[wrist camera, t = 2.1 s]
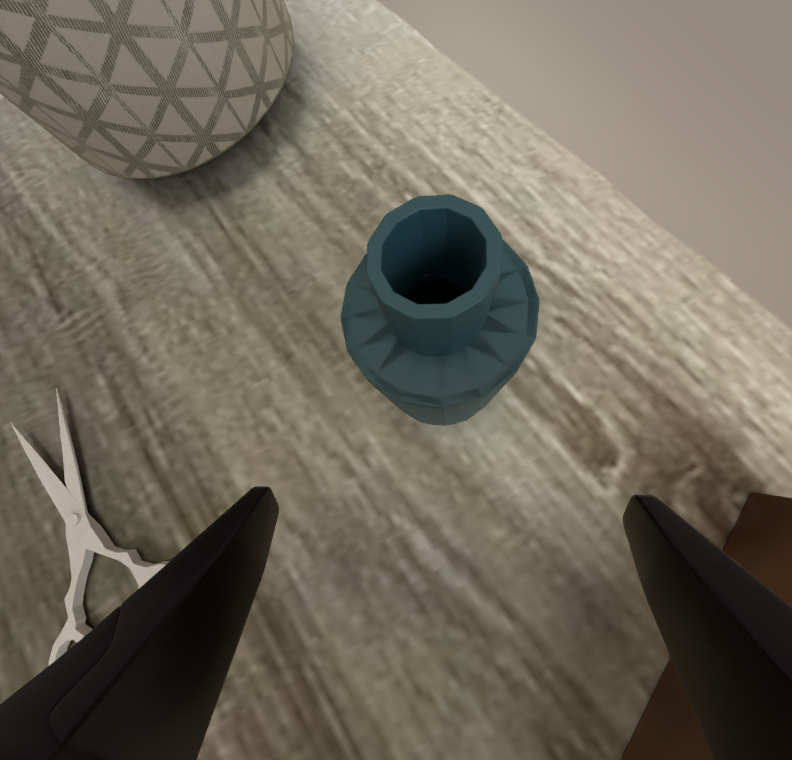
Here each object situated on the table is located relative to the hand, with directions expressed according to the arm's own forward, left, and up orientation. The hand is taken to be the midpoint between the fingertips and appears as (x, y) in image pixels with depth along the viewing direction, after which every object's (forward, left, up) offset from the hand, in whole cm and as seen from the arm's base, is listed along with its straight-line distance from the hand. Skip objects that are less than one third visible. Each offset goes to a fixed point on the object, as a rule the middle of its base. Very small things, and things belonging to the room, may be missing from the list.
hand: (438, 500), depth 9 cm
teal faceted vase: (+5, +3, -12) cm, 14 cm away
